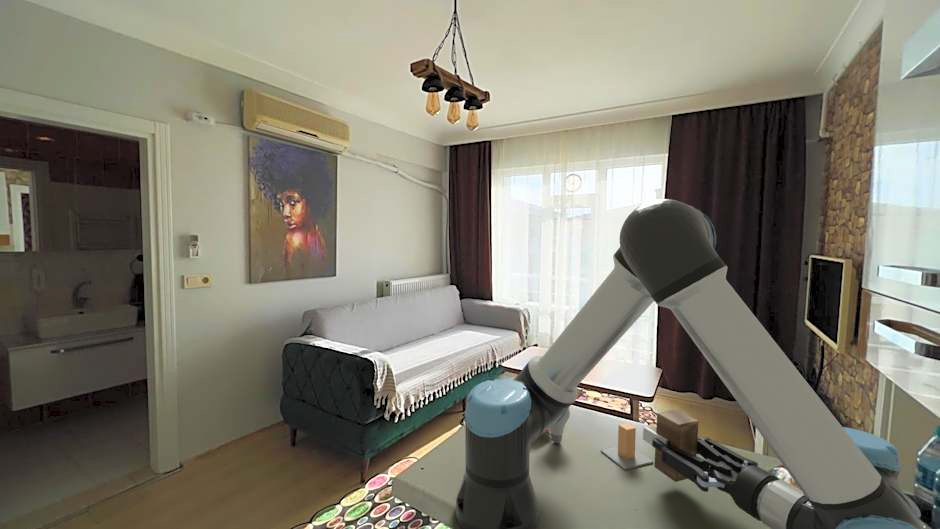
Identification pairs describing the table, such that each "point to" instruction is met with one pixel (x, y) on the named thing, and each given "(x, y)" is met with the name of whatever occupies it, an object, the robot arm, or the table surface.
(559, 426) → the lightbulb
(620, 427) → the grey square base plate
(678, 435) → the brown wooden block
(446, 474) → the table surface
